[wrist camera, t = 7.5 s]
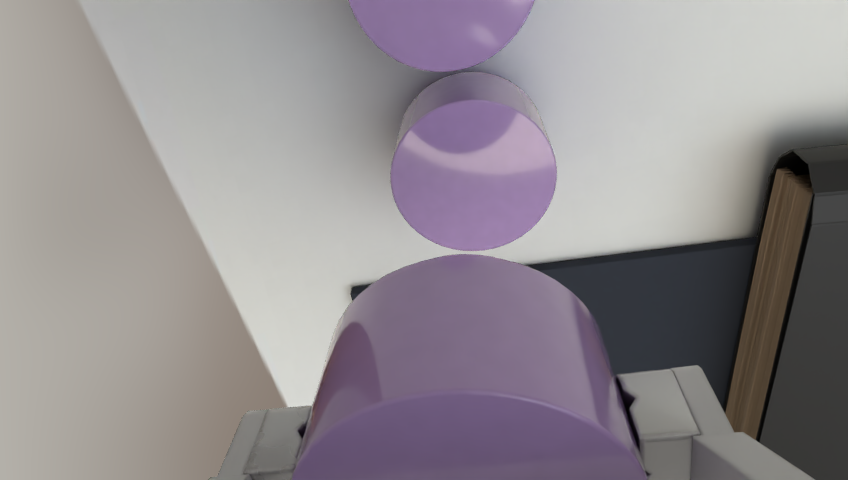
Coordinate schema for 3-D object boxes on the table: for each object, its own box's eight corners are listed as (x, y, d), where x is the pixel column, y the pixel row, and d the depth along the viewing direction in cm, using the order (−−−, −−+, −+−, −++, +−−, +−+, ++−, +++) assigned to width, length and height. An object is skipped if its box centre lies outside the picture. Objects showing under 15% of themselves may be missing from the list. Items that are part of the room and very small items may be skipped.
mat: (438, 575, 42) (437, 583, 42) (351, 286, 29) (350, 293, 29) (727, 559, 40) (730, 568, 39) (772, 234, 27) (778, 241, 26)
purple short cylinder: (414, 206, 27) (407, 260, 23) (387, 78, 24) (373, 115, 20) (546, 187, 26) (562, 241, 22) (534, 52, 23) (550, 86, 19)
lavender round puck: (371, 438, 16) (341, 623, 12) (306, 249, 13) (236, 412, 9) (602, 416, 15) (653, 609, 11) (589, 209, 12) (654, 370, 8)
